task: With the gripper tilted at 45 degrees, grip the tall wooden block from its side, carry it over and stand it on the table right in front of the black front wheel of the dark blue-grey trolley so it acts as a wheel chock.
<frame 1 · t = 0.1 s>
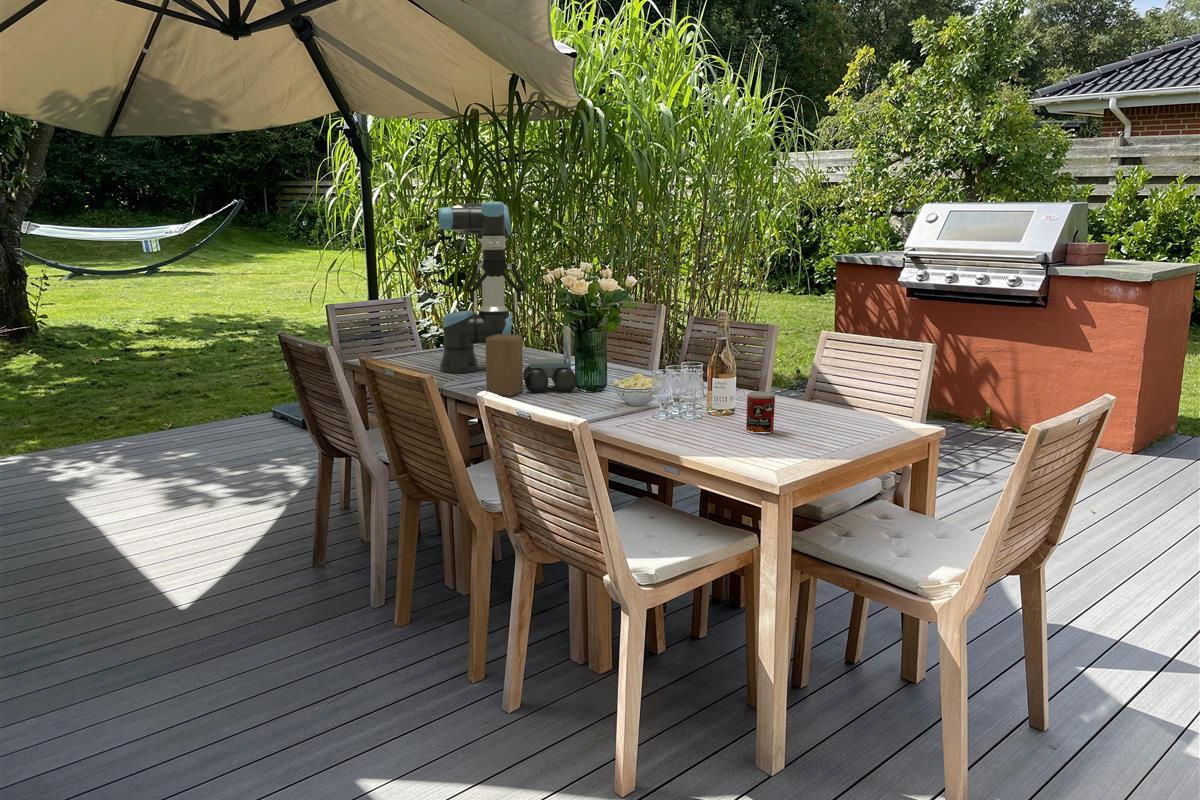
hand: (496, 312, 312), 28 cm above the table, tool pointing down, fingers open, 13 cm apart
canned food: (759, 432, 262), on the table
trolley: (549, 389, 325), on the table
wooden block: (504, 394, 316), on the table
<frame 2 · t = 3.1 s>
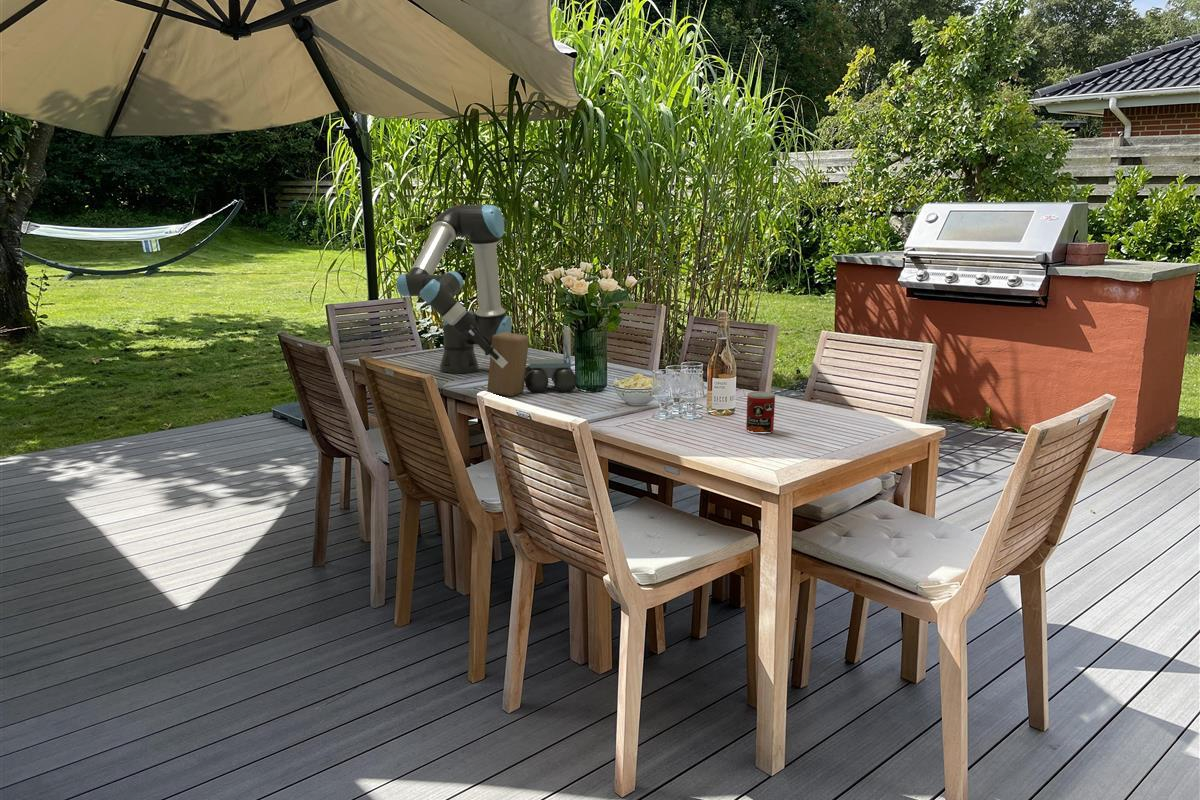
hand: (504, 362, 313), 11 cm above the table, tool tilted 45°, fingers open, 13 cm apart
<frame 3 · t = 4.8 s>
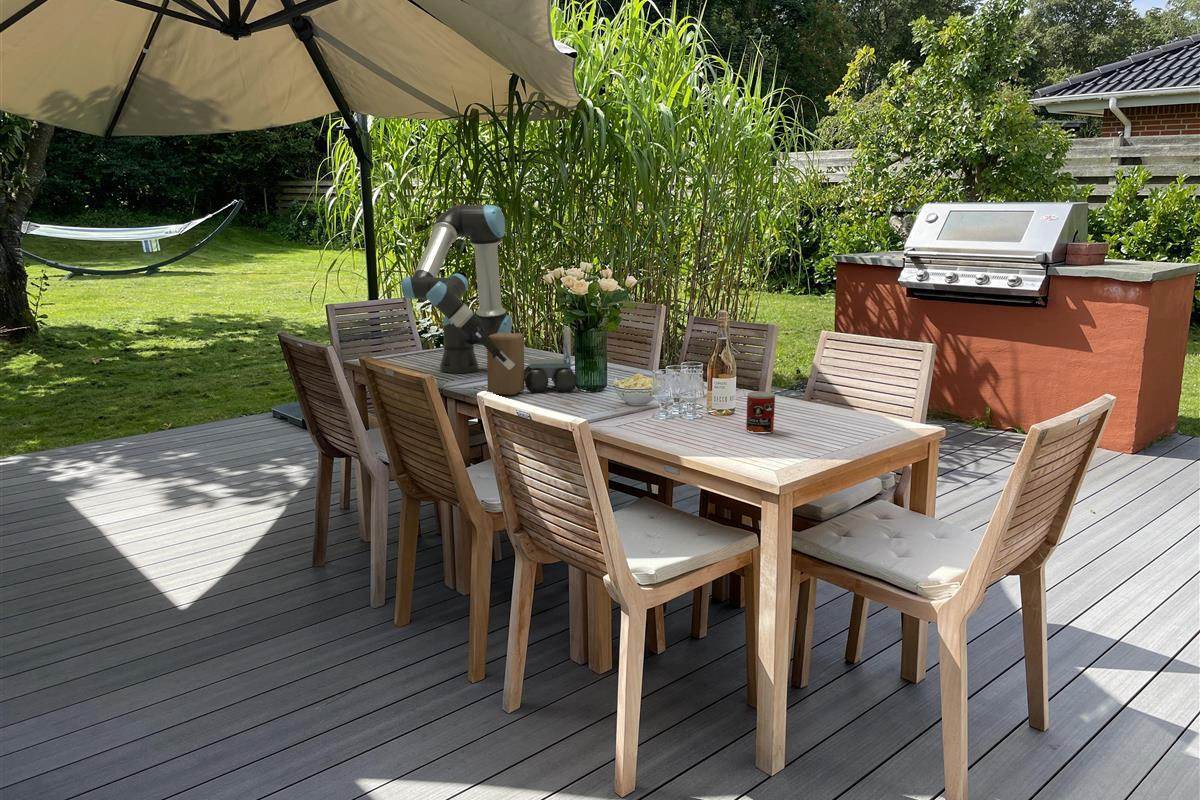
hand: (511, 364, 314), 10 cm above the table, tool tilted 45°, fingers closed on wooden block, 13 cm apart
wooden block: (506, 392, 316), on the table, touching gripper
everything else where it was.
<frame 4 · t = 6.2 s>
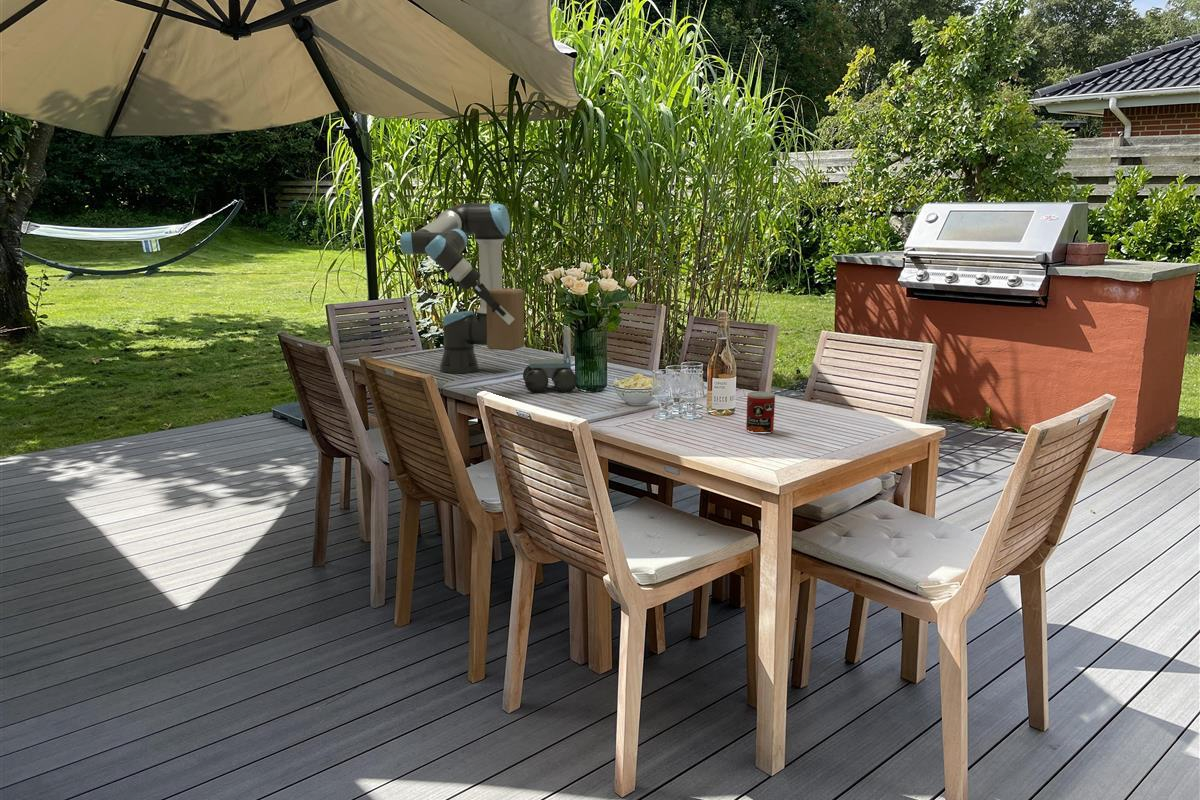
hand: (511, 319, 311), 25 cm above the table, tool tilted 45°, fingers closed on wooden block, 13 cm apart
wooden block: (505, 348, 313), point 16 cm above the table, touching gripper
everything else where it was.
when the fingers open (16 cm above the table, at t = 8.8 s): wooden block drops 6 cm, on the table.
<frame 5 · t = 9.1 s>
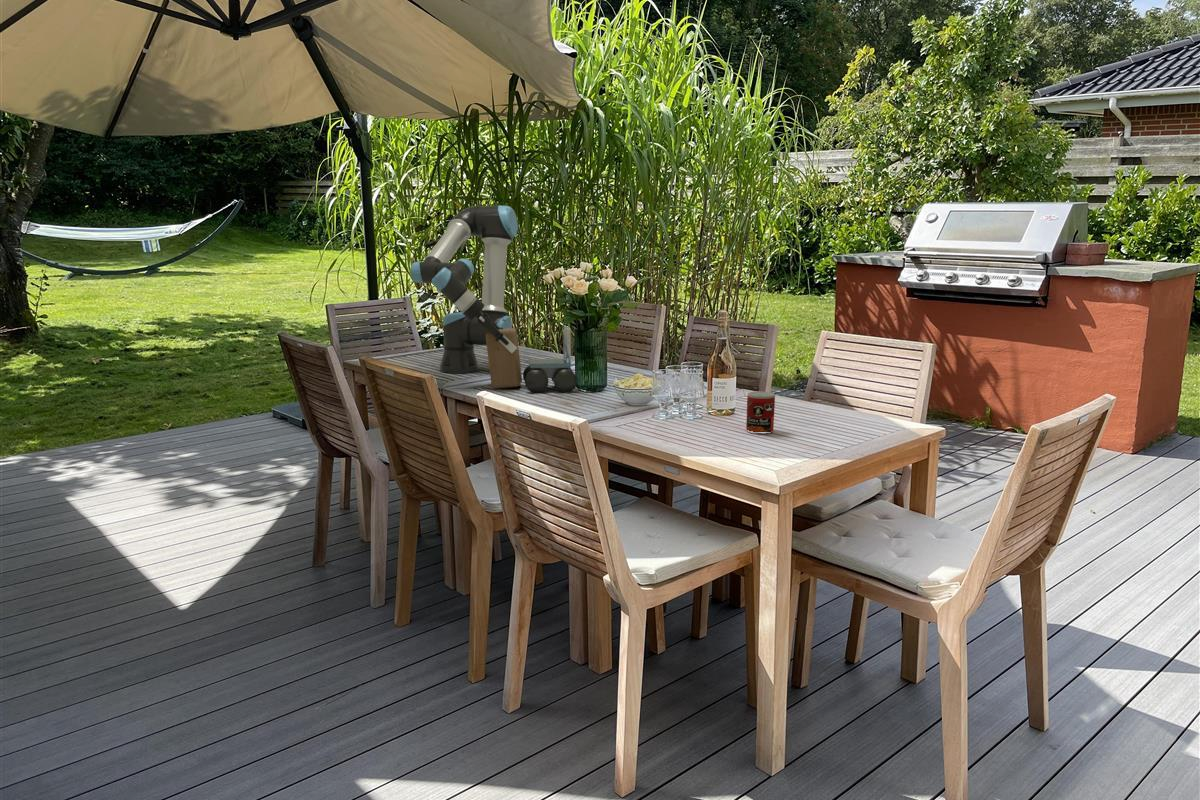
hand: (513, 348, 326), 14 cm above the table, tool tilted 45°, fingers open, 12 cm apart
wooden block: (507, 386, 328), on the table
everything else where it was.
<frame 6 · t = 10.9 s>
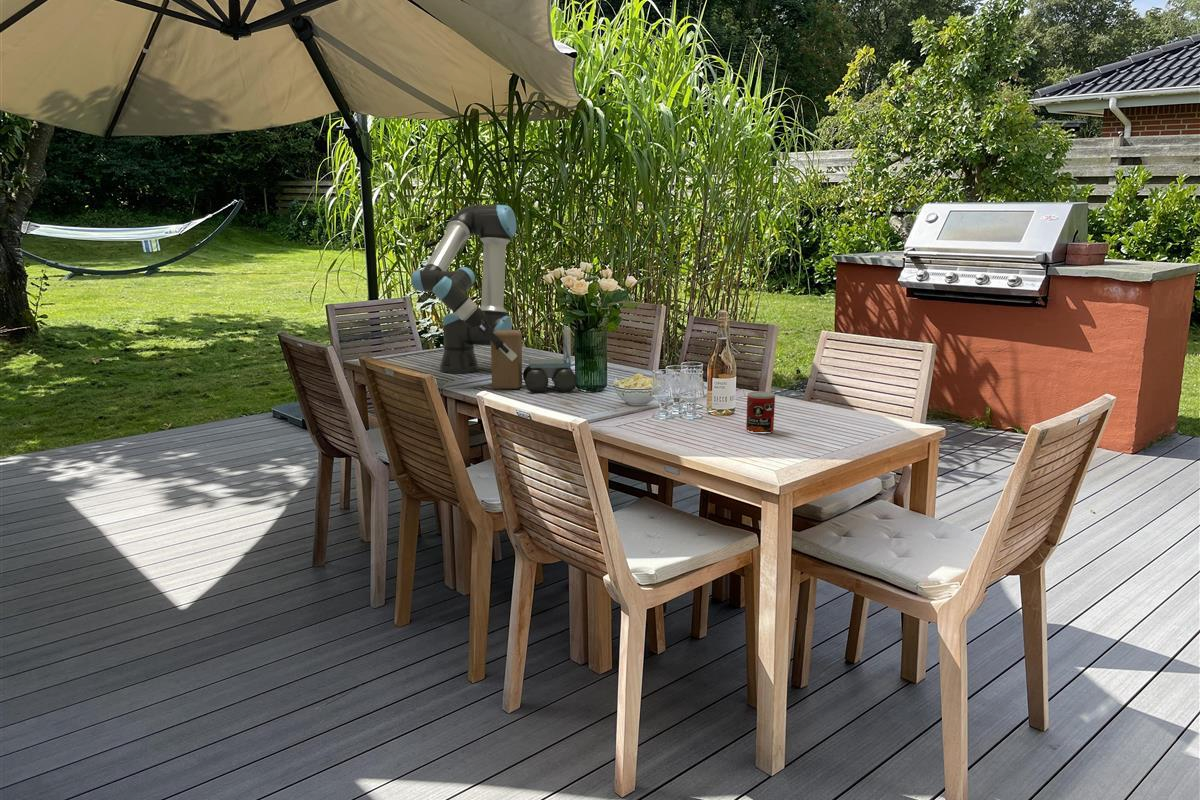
hand: (513, 355, 327), 11 cm above the table, tool tilted 45°, fingers open, 13 cm apart
wooden block: (507, 387, 328), on the table, touching gripper
everything else where it was.
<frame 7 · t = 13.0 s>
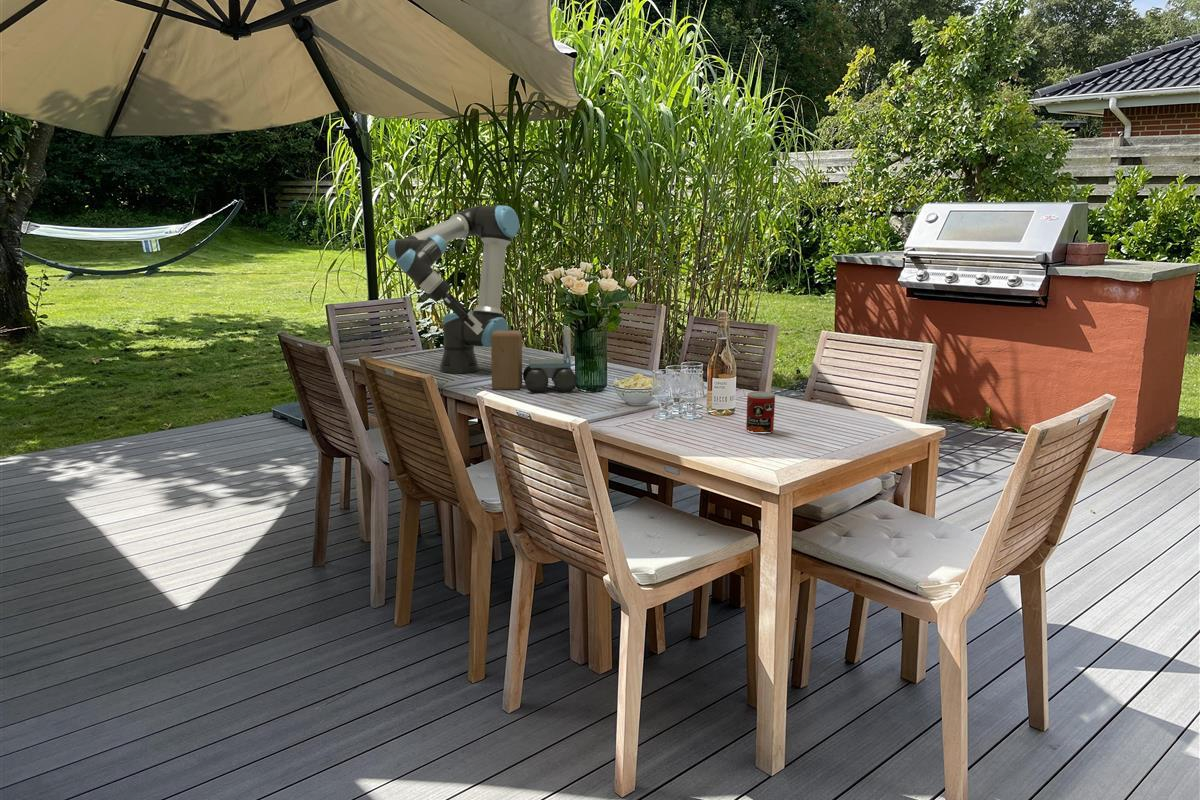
hand: (480, 329, 324), 21 cm above the table, tool tilted 45°, fingers open, 13 cm apart
wooden block: (507, 388, 328), on the table
everything else where it was.
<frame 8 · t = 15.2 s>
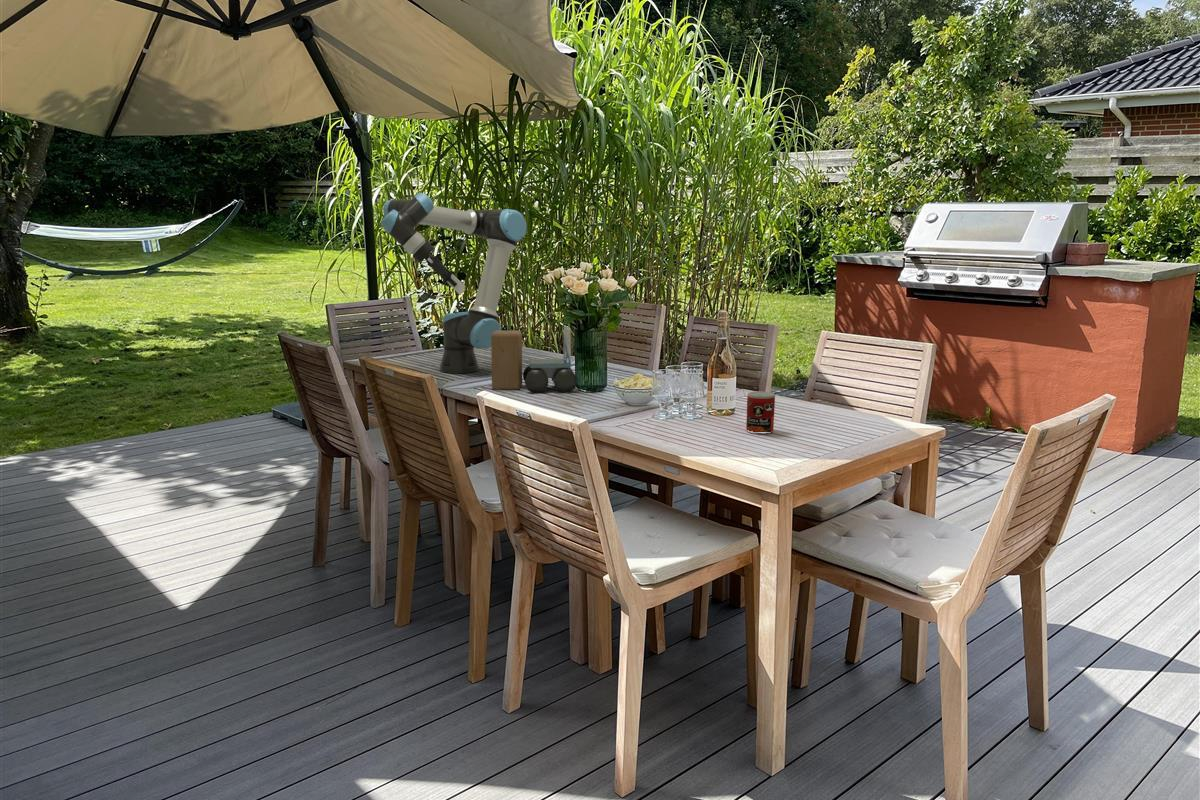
hand: (463, 290, 328), 34 cm above the table, tool tilted 45°, fingers open, 13 cm apart
nothing on the table moved.
at the end: wooden block inside the target area (1.1 cm from its centre), on the table; wooden block tilted 0°; the gripper is holding nothing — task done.
